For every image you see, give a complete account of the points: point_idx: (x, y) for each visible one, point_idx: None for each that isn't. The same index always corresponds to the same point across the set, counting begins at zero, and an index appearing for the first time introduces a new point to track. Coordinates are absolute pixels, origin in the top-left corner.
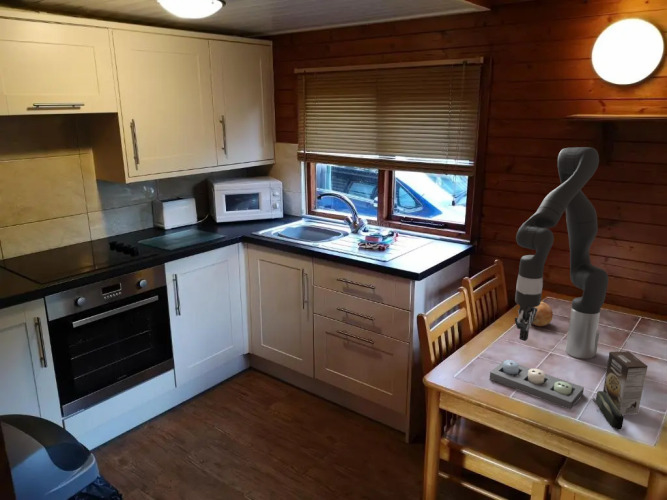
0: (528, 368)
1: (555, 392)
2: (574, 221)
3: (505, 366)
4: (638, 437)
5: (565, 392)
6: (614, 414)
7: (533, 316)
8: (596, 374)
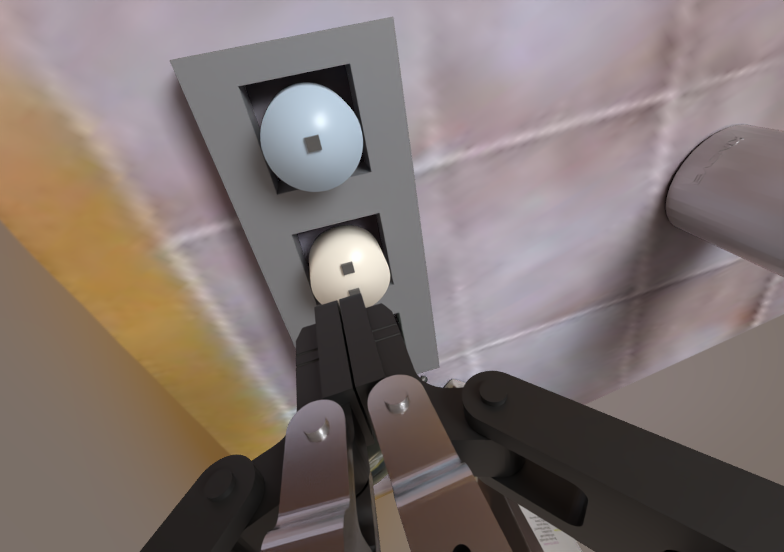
0: (409, 178)
1: None
2: None
3: (260, 134)
4: None
5: None
6: None
7: (598, 549)
8: (578, 299)
